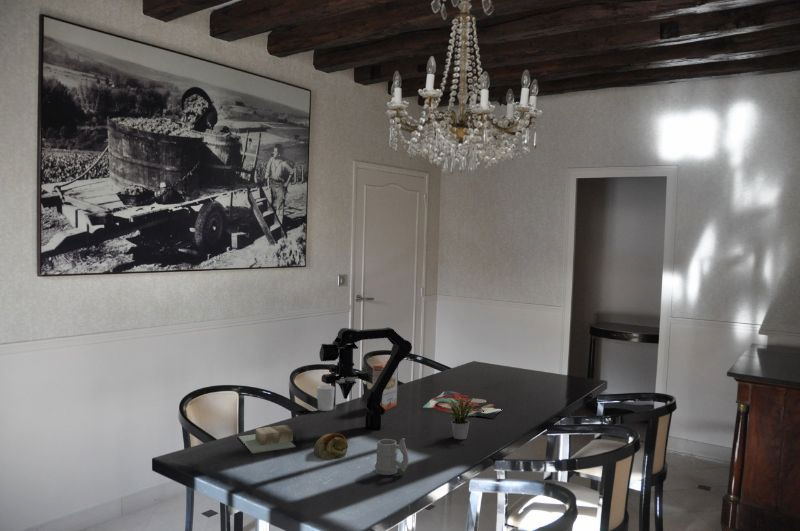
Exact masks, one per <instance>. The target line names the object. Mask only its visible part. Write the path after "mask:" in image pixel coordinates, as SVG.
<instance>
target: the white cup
mask: <svg viewBox="0 0 800 531" xmlns="http://www.w3.org/2000/svg"><path fill="white" fill-rule="evenodd" d="M316 389H317V390H316V392H317V393H316V394H317V397H316V398H317V410H318V411H321V412H326V411H327V412H328V411H332V410H334V403H335V389H336V388H335V386H334V385H330V384H324V385H318V386H317V387H316Z"/></svg>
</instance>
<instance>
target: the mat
mask: <svg viewBox="0 0 800 531" xmlns="http://www.w3.org/2000/svg"><path fill="white" fill-rule="evenodd" d="M238 439H239V440H240V441H241V442H242V443H243V445H244V444H245V445H244V446H246V448H247V449H248V450H249V451H250V453H251V454H258V453H265V452H271V451H272V452H273V451H277V450H285V449H286V450H287V449H291V448H296V445H295V444H294V443H293V441H288V442H281V443H274V444H267V445H261V444H260V443H259V442H258V441H257V440H256V439H255V433H254V434H248V435H239V436H238Z"/></svg>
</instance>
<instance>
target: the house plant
mask: <svg viewBox="0 0 800 531" xmlns="http://www.w3.org/2000/svg"><path fill="white" fill-rule="evenodd" d="M455 397H456V396H455ZM456 398H457V397H456ZM457 399H458V398H457ZM459 399H460V401H459V400H458V401H459V405H460V411H461V414H460V412H459V409H458V406H456V405H455V403H454V402H453V401H452V400H451V399H449V400H450V401H451V402H452V406H451V405H450V404H449V405H450V406H451V408H452V410H450V411H453V413H452V412H449V411H447V412H449V413H448V415H447V417H451V418H453V416H454V418H453V419H451V428H452V435H453V438H454V439H455V440H465V439H467V437H468V432H469V427H470V421H469V420H467V419H469V418H471V419H474V417H476V416H475V415H474V414H470V415H474V417H473V416H469V415H468V414H469V412H470V411H471V410H473V409H471V410H469V409H470V407H471V406H472V405H473V404H475V403H472V404H471V405H470V406H468V405H469V403H470V402H471V400H472V399H475V397H472V398H469V399H468V400H469V401H468V402H466V401H465V402H466V404H465V407H464V410H463V402H464V401H463V400H462V399H461V397H459ZM445 403H446V402H445ZM476 403H477V402H476ZM453 406H454V407H453ZM467 406H468V407H469V408H468V407H467ZM467 409H468V410H467ZM466 410H467V411H466ZM467 415H468V416H467Z"/></svg>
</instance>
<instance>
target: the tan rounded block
mask: <svg viewBox="0 0 800 531" xmlns="http://www.w3.org/2000/svg"><path fill="white" fill-rule="evenodd" d="M293 432H294V430H293V429H292V428H291V427H289V426H288V425H287V424H283V425H275V426H267V427H266V426H265V427H259V428H255V433H254V434H255V439H256V440H257V441H258V442H259V443H260V444H261V445H267V444H274V443H281V442H288V441H291V442H293V441H294V438H293V437H294V433H293Z"/></svg>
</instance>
